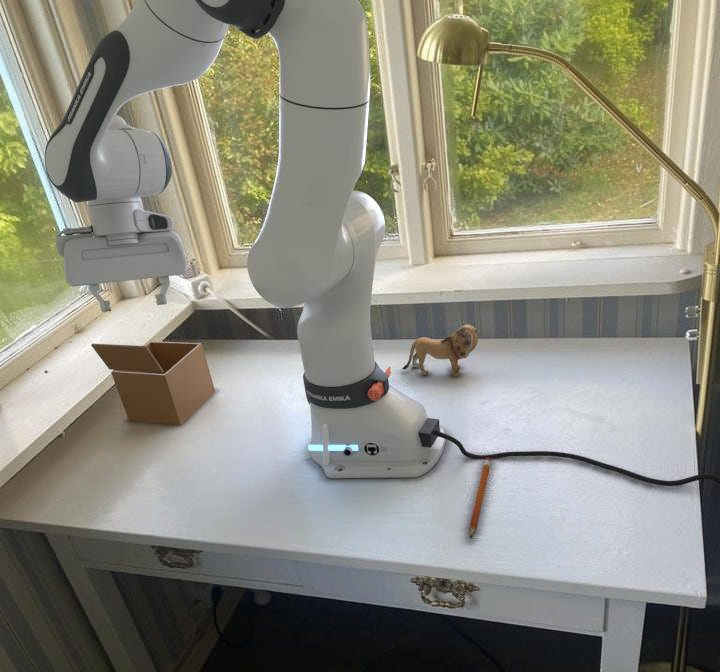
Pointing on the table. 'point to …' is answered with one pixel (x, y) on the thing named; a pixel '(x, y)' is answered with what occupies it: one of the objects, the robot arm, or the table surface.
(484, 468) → the pencil
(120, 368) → the flap
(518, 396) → the table surface
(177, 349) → the carton
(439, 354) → the lion figurine
